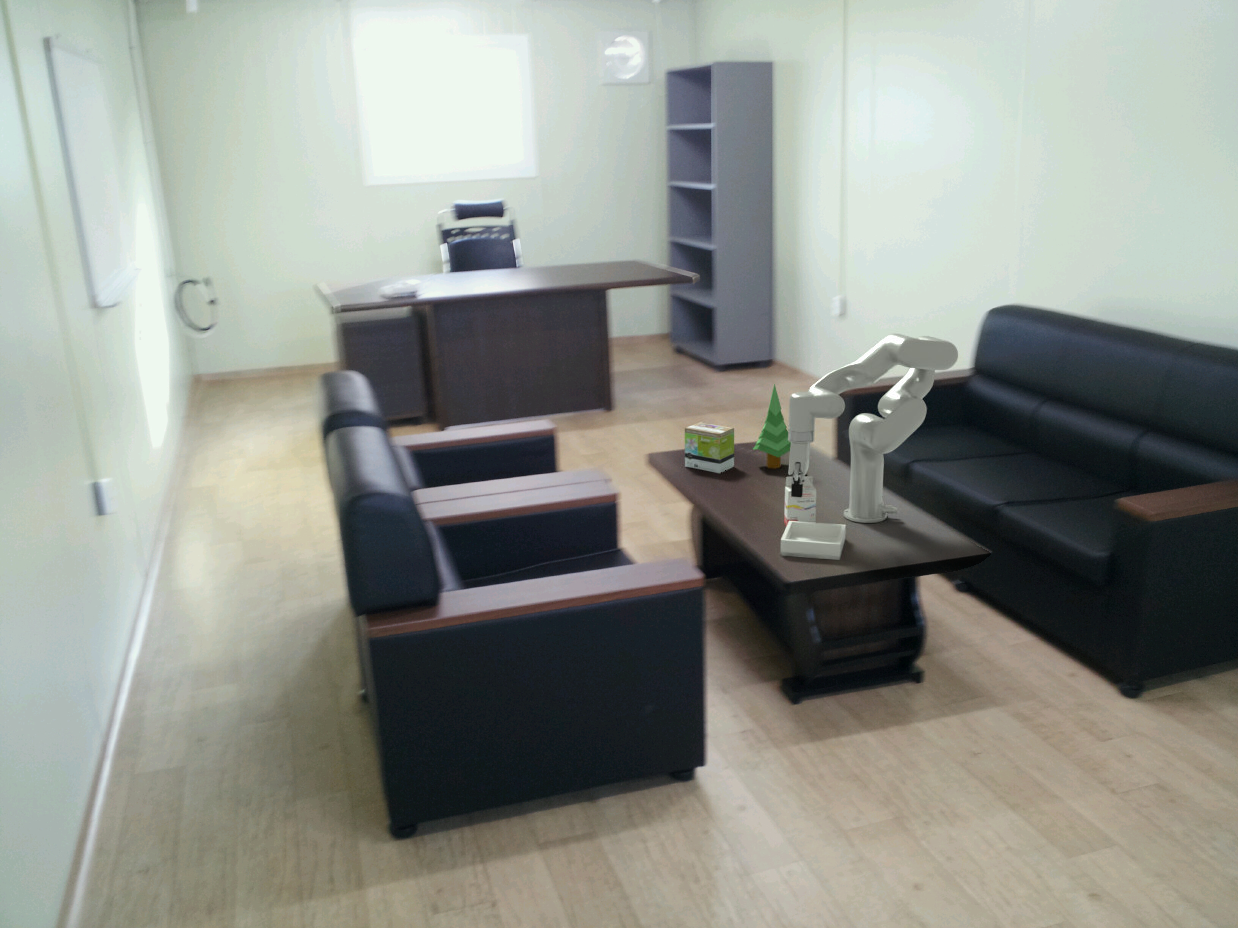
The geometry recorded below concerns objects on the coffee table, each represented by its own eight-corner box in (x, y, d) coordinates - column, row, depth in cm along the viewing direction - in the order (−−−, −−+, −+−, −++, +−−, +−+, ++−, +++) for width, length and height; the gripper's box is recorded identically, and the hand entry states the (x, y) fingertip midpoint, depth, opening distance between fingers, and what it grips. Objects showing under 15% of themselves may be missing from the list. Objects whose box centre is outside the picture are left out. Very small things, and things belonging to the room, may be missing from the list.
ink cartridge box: (787, 529, 305) (787, 481, 301) (783, 523, 310) (784, 476, 305) (816, 527, 305) (817, 480, 301) (812, 522, 310) (813, 475, 306)
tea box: (683, 467, 369) (683, 427, 364) (699, 460, 376) (699, 421, 372) (720, 474, 360) (719, 432, 356) (735, 467, 367) (735, 426, 363)
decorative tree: (787, 459, 374) (788, 377, 366) (797, 471, 359) (799, 387, 351) (750, 461, 373) (750, 379, 365) (759, 473, 358) (759, 389, 350)
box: (845, 539, 295) (845, 524, 294) (839, 559, 280) (840, 544, 279) (788, 535, 300) (789, 520, 298) (780, 555, 285) (780, 539, 284)
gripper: (792, 427, 308) (790, 482, 313) (783, 442, 293) (781, 499, 297) (817, 429, 306) (815, 484, 311) (810, 443, 290) (808, 501, 295)
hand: (798, 491), depth 304 cm, fingers open, 9 cm apart
